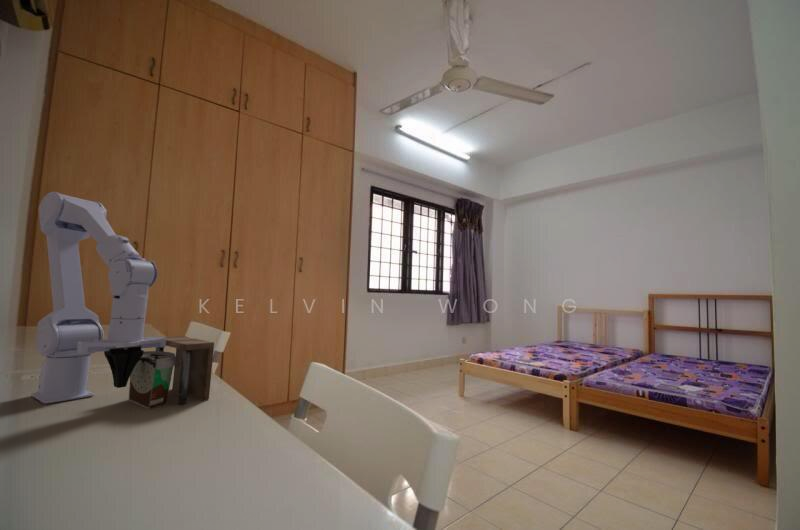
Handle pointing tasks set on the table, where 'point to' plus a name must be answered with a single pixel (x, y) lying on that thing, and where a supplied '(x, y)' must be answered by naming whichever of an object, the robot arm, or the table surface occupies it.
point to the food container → (152, 379)
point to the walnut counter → (191, 367)
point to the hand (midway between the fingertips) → (119, 386)
